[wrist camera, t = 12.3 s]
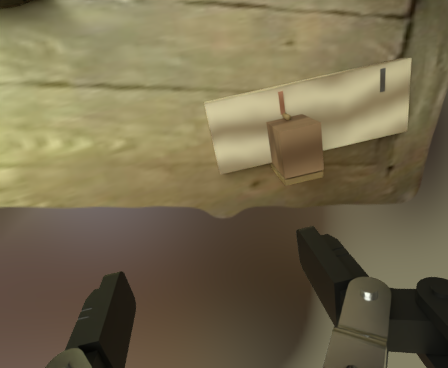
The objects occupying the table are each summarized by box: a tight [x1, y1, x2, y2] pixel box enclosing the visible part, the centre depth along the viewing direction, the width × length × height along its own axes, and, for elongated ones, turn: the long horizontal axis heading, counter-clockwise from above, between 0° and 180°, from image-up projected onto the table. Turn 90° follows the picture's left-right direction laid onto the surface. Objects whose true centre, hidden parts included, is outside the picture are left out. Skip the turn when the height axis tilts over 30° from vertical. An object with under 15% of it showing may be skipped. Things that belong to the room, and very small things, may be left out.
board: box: [204, 58, 412, 174], centre depth 41 cm, size 10×28×2 cm, turn 101°
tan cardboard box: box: [266, 113, 324, 186], centre depth 39 cm, size 8×5×7 cm, turn 11°
